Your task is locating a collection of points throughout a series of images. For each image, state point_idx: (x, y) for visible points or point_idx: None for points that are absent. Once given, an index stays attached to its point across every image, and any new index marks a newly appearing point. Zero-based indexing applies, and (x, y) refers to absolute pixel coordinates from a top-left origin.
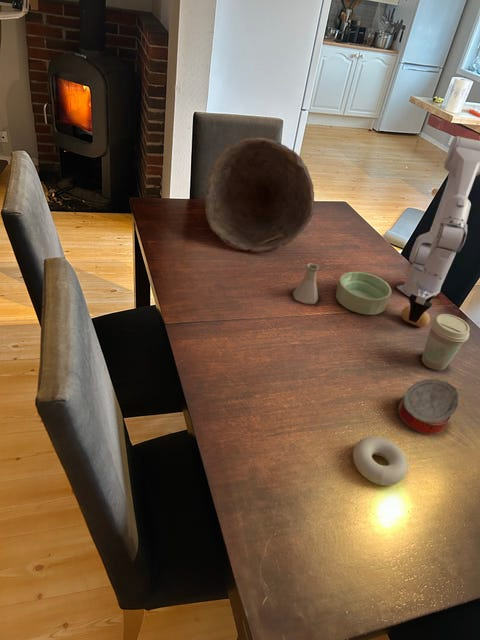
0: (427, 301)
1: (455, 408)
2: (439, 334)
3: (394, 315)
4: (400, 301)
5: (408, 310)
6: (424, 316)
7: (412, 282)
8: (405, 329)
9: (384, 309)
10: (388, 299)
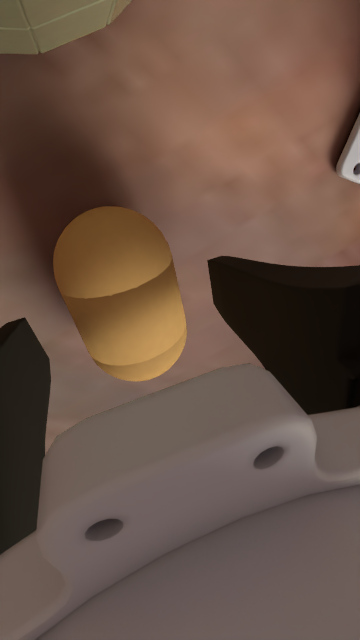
0: (250, 339)
1: None
2: None
3: (80, 158)
4: (279, 89)
5: (75, 279)
6: (119, 374)
7: (56, 455)
8: (16, 294)
9: (16, 52)
10: (6, 11)
